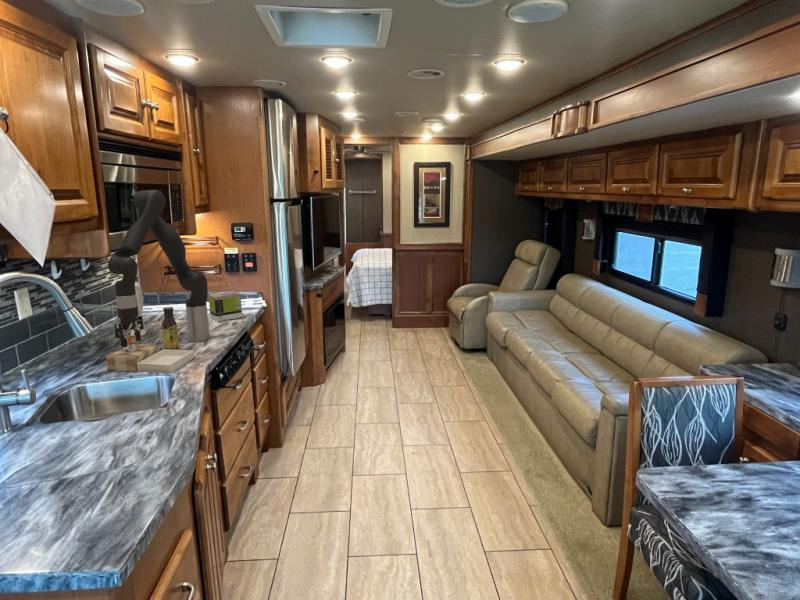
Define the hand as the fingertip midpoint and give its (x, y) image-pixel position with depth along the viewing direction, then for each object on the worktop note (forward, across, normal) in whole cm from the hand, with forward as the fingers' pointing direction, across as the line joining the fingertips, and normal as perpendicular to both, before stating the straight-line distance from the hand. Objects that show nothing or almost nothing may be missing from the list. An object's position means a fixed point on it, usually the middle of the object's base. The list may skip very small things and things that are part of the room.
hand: (131, 343), depth 197 cm
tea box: (+9, -75, +4) cm, 76 cm away
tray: (+9, -1, +14) cm, 17 cm away
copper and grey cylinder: (+9, 0, 0) cm, 9 cm away
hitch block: (+9, 0, 0) cm, 9 cm away
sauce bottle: (+9, -19, +5) cm, 22 cm away
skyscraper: (+9, -39, -25) cm, 47 cm away
